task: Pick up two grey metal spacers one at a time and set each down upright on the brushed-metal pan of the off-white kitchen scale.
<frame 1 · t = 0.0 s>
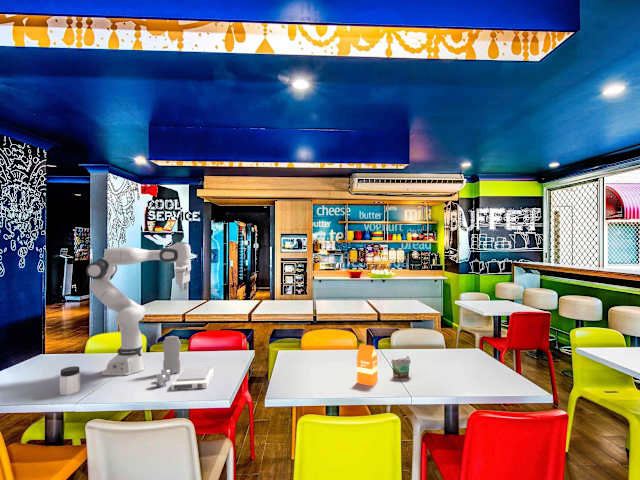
hand: (183, 290, 224), 48 cm above the table, fingers open, 8 cm apart
spacer b: (161, 386, 193), on the table
orange juice: (367, 382, 197), on the table
food container: (403, 377, 203), on the table
jar: (70, 392, 187), on the table
scale: (193, 381, 199), on the table
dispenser: (171, 373, 213), on the table
spacer a: (165, 380, 201), on the table
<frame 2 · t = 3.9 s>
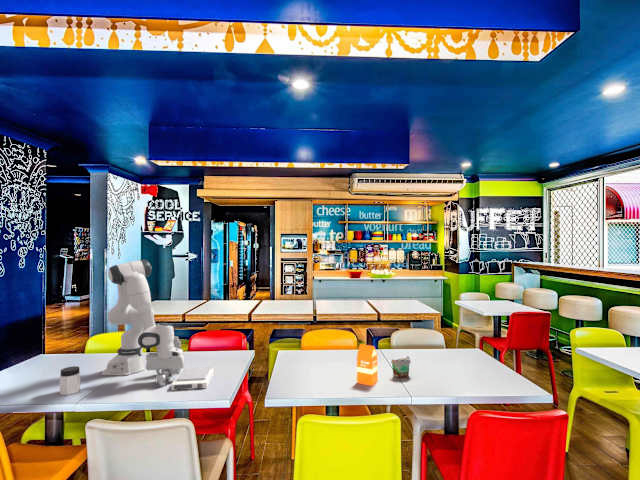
hand: (165, 376, 201), 2 cm above the table, fingers closed on spacer a, 5 cm apart
spacer a: (165, 380, 201), on the table, touching gripper
everything else where it was.
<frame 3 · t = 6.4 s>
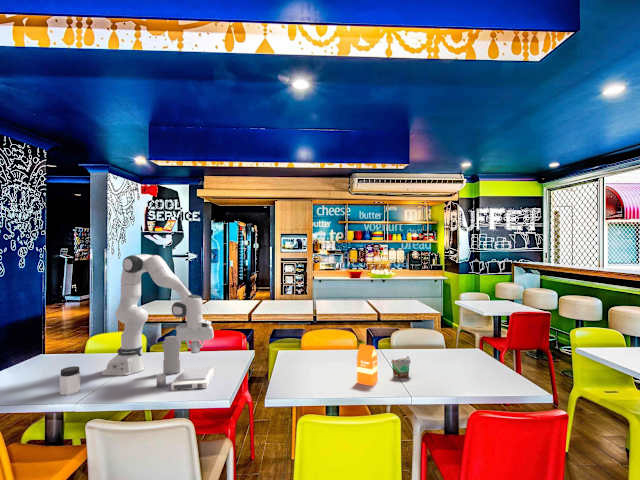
hand: (195, 347, 205), 17 cm above the table, fingers closed on spacer a, 5 cm apart
spacer a: (195, 352, 205), point 15 cm above the table, touching gripper
everything else where it was.
when the fingers open (7 cm above the table, at t = 8.6 s): spacer a stays where it is, resting on scale.
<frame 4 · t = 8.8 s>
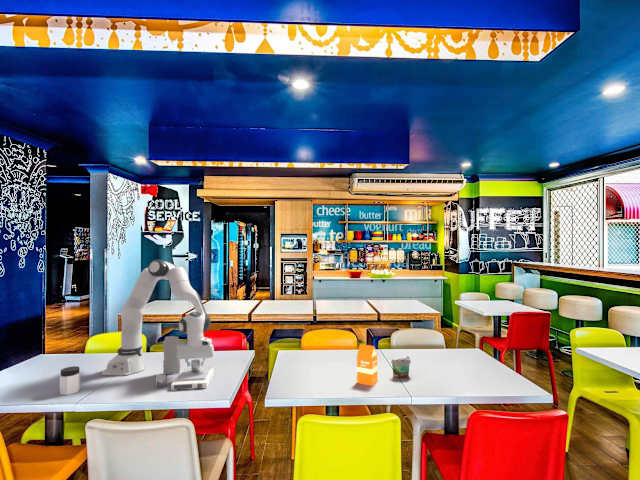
hand: (195, 365, 205), 7 cm above the table, fingers open, 6 cm apart
spacer a: (195, 371, 205), point 4 cm above the table, touching scale
everything else where it was.
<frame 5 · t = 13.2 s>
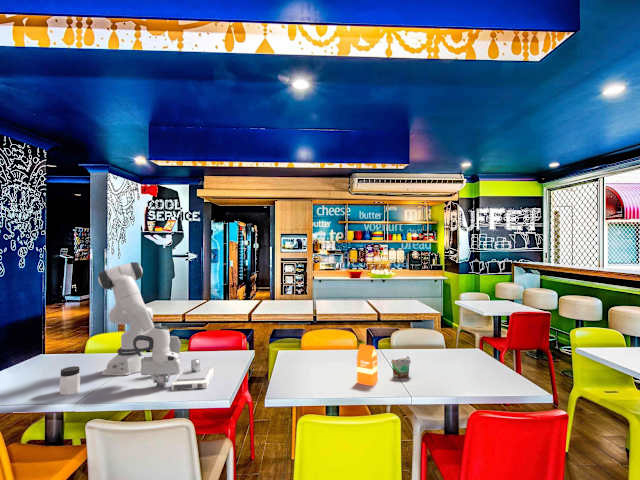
hand: (161, 382, 193), 2 cm above the table, fingers closed on spacer b, 5 cm apart
spacer b: (161, 386, 193), on the table, touching gripper
everything else where it was.
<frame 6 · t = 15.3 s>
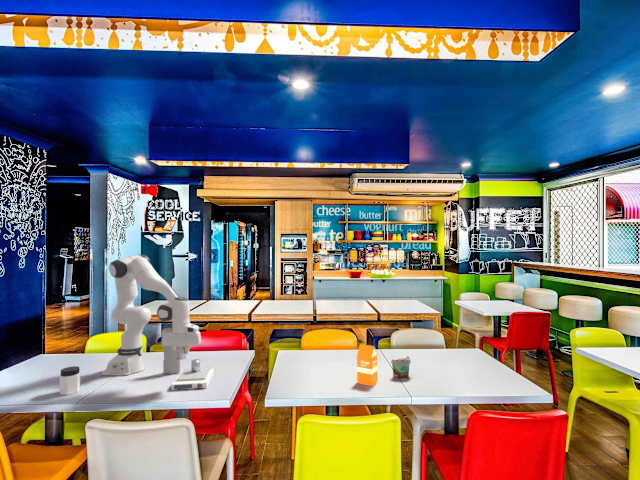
hand: (181, 353, 193), 18 cm above the table, fingers closed on spacer b, 5 cm apart
spacer b: (181, 358, 192), point 15 cm above the table, touching gripper
everything else where it was.
when the fingers open (7 cm above the table, at t = 17.8 s): spacer b stays where it is, resting on scale.
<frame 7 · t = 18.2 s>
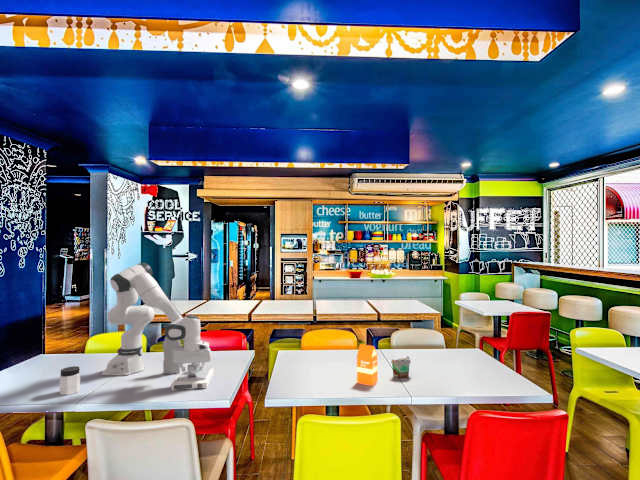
hand: (192, 370, 197), 7 cm above the table, fingers open, 8 cm apart
spacer b: (192, 376, 197), point 4 cm above the table, touching scale
everything else where it was.
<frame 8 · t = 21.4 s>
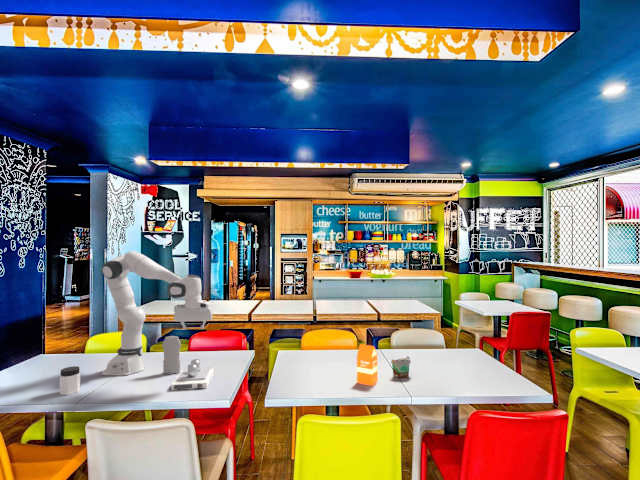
hand: (193, 329, 200), 29 cm above the table, fingers open, 8 cm apart
nothing on the table moved.
at the end: spacer a inside the target area on the scale (3.2 cm from its centre), point 4.1 cm above the scale's base; spacer b inside the target area on the scale (5.0 cm from its centre), point 4.0 cm above the scale's base; spacer b tilted 0° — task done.
